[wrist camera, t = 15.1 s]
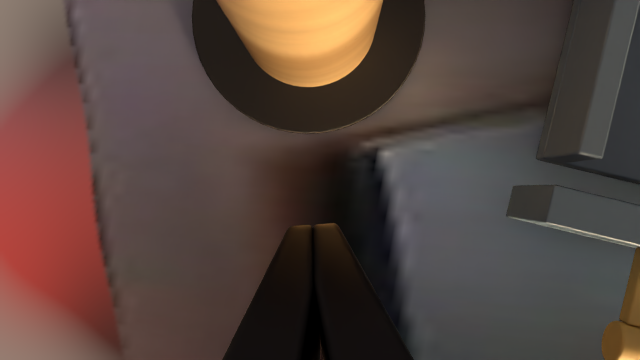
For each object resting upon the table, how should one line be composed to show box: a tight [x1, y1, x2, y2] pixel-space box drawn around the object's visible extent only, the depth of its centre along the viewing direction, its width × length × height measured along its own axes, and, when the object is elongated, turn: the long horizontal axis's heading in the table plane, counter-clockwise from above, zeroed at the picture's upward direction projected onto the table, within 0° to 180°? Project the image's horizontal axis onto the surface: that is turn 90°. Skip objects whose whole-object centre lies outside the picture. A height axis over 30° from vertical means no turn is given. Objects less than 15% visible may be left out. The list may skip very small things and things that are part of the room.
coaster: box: [192, 0, 425, 134], centre depth 23 cm, size 9×9×1 cm
